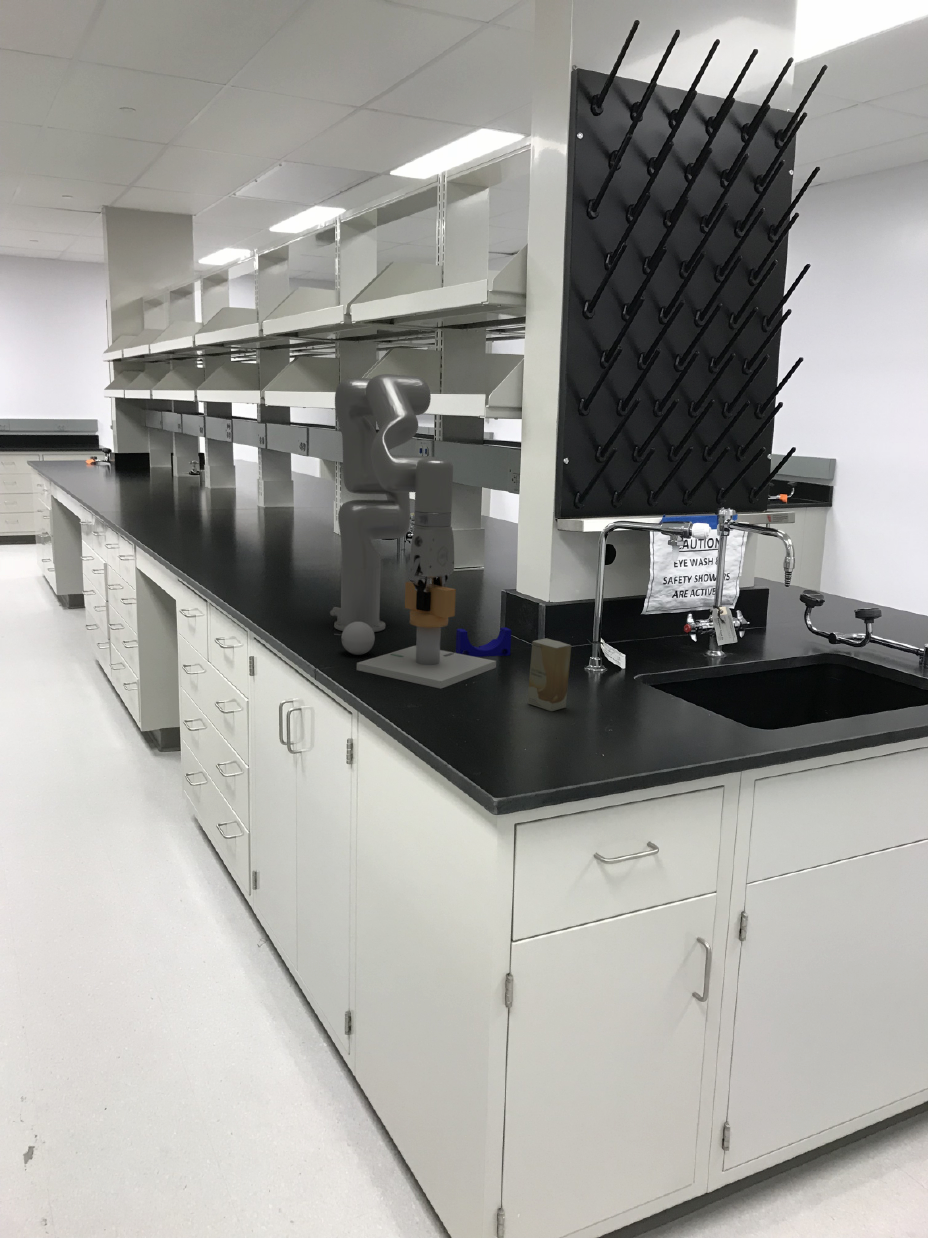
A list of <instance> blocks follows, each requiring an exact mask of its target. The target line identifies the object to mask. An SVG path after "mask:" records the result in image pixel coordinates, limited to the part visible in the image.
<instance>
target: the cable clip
mask: <svg viewBox="0 0 928 1238" xmlns="http://www.w3.org/2000/svg"><path fill="white" fill-rule="evenodd" d="M455 635H456V636H455V637H456V638H455V653H458V654H463V655H468V656H473V657H478V658H482V657H483V658H485V657H502V656H507V657H508V656H511V650H512V649H511V645H512V629H510V628H508V627H500V629H499V634H498V635H497V638H493V639H492V640H490V641H489V642H487V643H485V644H483V645H478V646H474V645H473V644H472V643H471V641H470V640H469V639H470V638H469V636H468V630H466V629H464V628H457V629H456V634H455Z"/></svg>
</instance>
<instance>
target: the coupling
mask: <svg viewBox="0 0 928 1238" xmlns="http://www.w3.org/2000/svg"><path fill="white" fill-rule="evenodd" d="M423 582H424V583H425V581H423ZM404 590H405V591H404V592H405V593H404V608H405V609H407V610H409V624H410V625H412V626H415V627H417V626H418V627H429V628H434V627H441V628H443V627H447V626H448V625H449V618H452V617H455V615H456V593H457V591H456V588H453V587H448V586H446V587H443V586H439V585H434V584H432V583H430V586H429V591H428V592H431V603H430V611H428V612H427V611H421V610H417V609H416V594H417V591H415V586H414V584H413V583H412V582H411V581H410V580H408V581H405V588H404Z"/></svg>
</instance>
